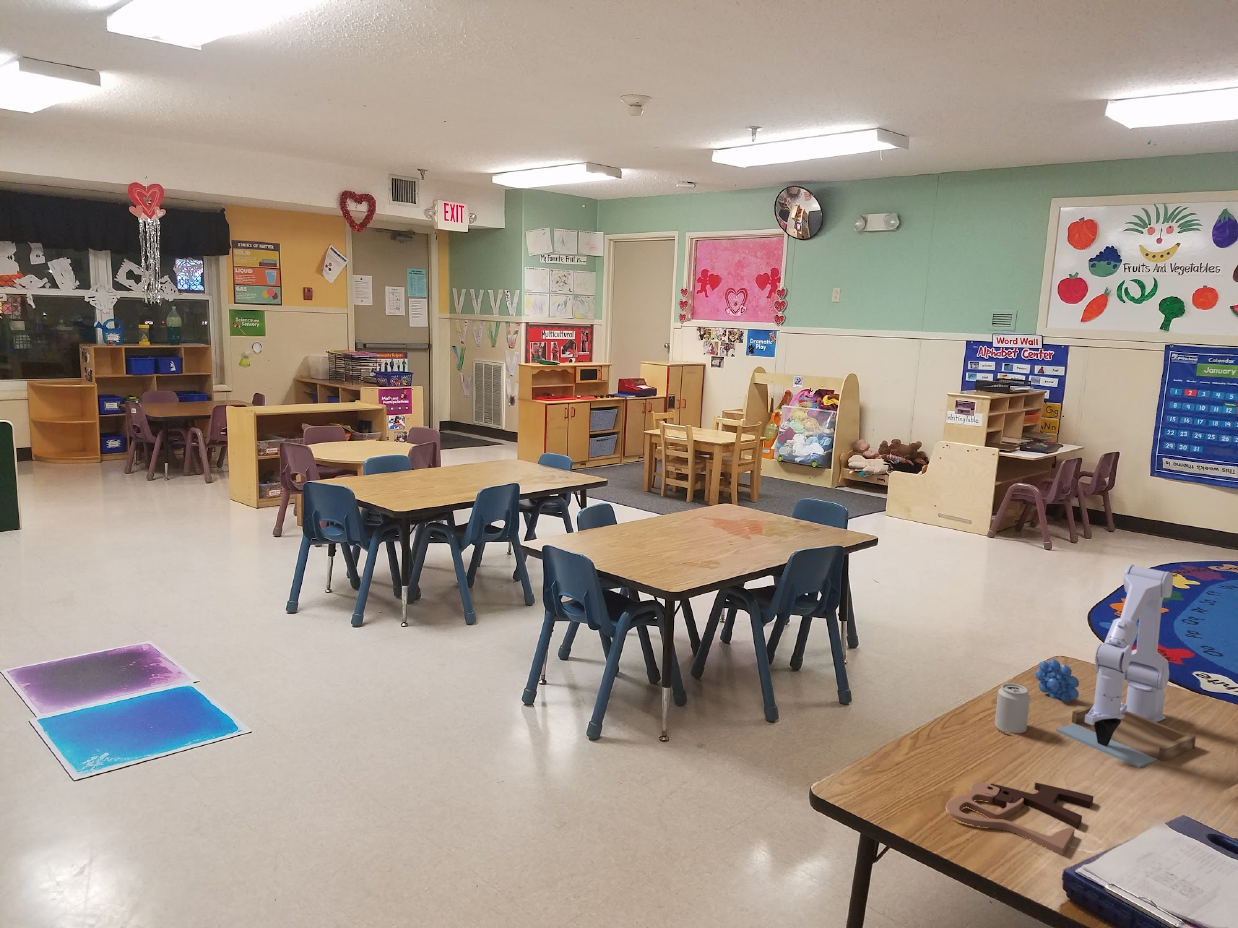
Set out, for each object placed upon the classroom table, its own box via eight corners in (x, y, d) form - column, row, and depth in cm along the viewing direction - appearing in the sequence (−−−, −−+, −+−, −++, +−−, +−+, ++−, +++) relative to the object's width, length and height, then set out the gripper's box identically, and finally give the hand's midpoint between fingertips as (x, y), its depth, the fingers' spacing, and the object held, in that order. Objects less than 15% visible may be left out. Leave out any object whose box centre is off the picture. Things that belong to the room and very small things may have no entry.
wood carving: (1093, 804, 198) (983, 768, 213) (1094, 795, 198) (983, 760, 212) (1059, 863, 177) (939, 818, 191) (1060, 853, 176) (940, 809, 191)
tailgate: (1074, 723, 232) (1056, 728, 228) (1157, 759, 214) (1139, 764, 210) (1074, 726, 232) (1055, 731, 228) (1157, 762, 215) (1139, 768, 210)
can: (1020, 725, 234) (1024, 682, 232) (1030, 739, 227) (1035, 694, 224) (990, 723, 235) (994, 680, 233) (999, 737, 227) (1004, 692, 225)
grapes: (1027, 699, 250) (1031, 658, 248) (1035, 692, 255) (1040, 652, 252) (1072, 713, 242) (1076, 671, 240) (1080, 705, 247) (1084, 664, 245)
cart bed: (1102, 715, 241) (1104, 699, 240) (1193, 752, 221) (1196, 735, 220) (1070, 727, 233) (1072, 711, 233) (1162, 766, 214) (1164, 749, 213)
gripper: (1107, 705, 211) (1101, 759, 213) (1141, 692, 218) (1135, 744, 221) (1079, 694, 217) (1073, 746, 219) (1113, 681, 224) (1107, 732, 227)
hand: (1102, 744), depth 220 cm, fingers closed, pressing on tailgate
